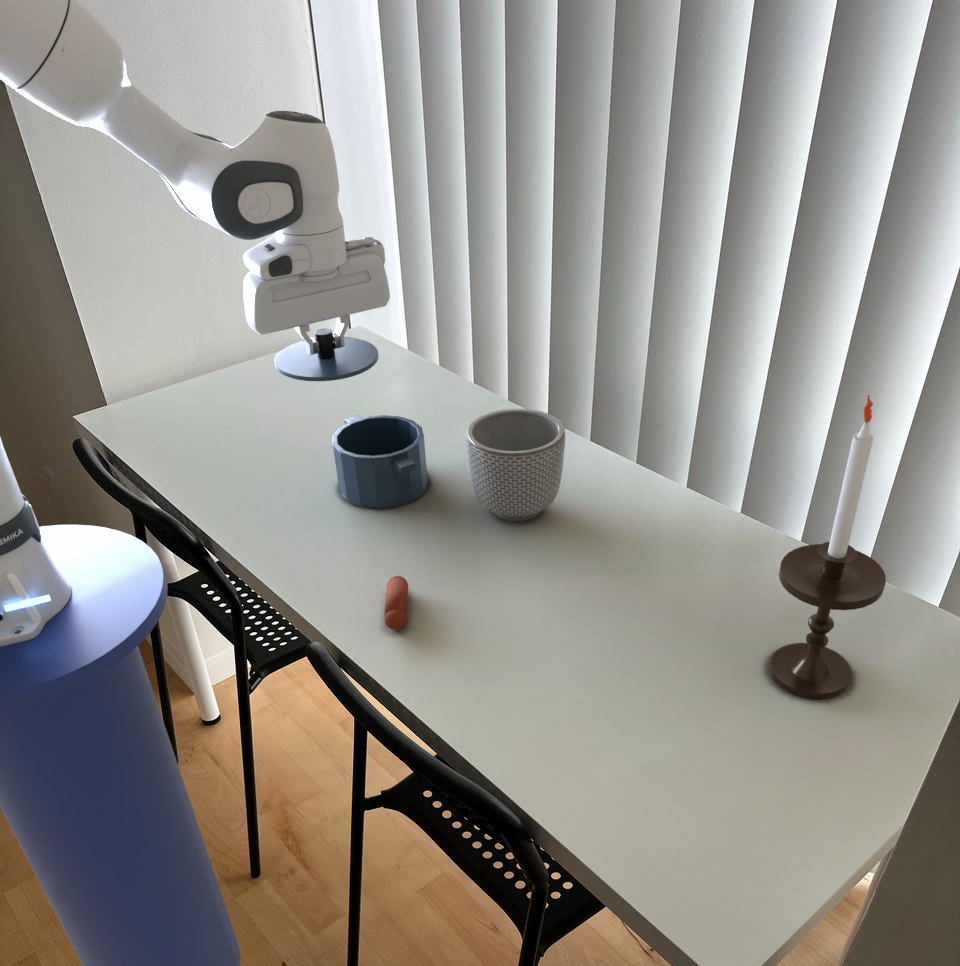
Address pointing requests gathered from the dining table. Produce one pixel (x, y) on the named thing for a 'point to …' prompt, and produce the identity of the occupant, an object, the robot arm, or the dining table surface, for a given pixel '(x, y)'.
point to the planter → (516, 461)
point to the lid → (326, 359)
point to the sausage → (396, 603)
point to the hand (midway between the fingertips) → (325, 349)
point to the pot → (380, 461)
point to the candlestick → (829, 588)
